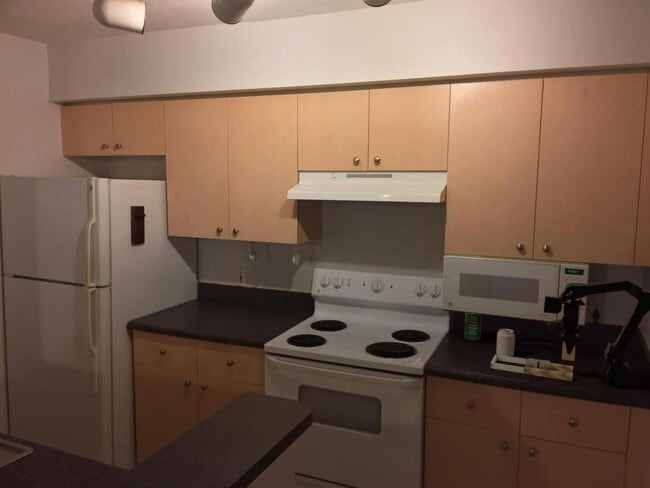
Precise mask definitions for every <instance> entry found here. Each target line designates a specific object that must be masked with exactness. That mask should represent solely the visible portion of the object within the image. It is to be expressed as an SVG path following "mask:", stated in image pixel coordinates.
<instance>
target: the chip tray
mask: <svg viewBox="0 0 650 488" xmlns="http://www.w3.org/2000/svg"><path fill="white" fill-rule="evenodd" d="M527 359H528V358H521V357H514V356H510V357H509V356H502V355H498V354H497V353H495V354H494V357H493V358H492V360H491V362H490V369H495V370H502V371H508V372H514V373H520V374H524V373H523V372H524V367H523V366H516V365H509V364H503V363H499V362H498V363H497V361H500V362H501V361H502V362H507V363H515V364H521V365H526V360H527Z"/></svg>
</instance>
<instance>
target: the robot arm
mask: <svg viewBox="0 0 650 488" xmlns="http://www.w3.org/2000/svg"><path fill="white" fill-rule="evenodd" d="M614 292H626V293H628V294H629V295H630V296H632V297H633V298H634V302H633V303H634V304H633V308H632V311H631V313H630V315H629V316H628V318H627V319H626V322H625V324H624V325H623V327H622V330H621V331H620V333H619V335H618V337H617V339H616V340H615V341H613V343H611V342H608V343H607V346H606V348H605V349H604V350H603V351H604V357H605V361H606V364H607V365H608V366H609V368H608V369H609V370H608V369H607V373H606V383H608V386H611V387H614V388H615V387H617V388H623V389H628V386H629V385H628V379H629V377H628V376H629V371H630V368H629V365H628V363H627V361H626V360H625V358H626V352H627V348H628V347H629V344H630V342H631V340H632V338H633V336H634V335H635V333H636V331H637V329H638V328H639V326H640V324H641V322H642V320H643V318H644V317H645V316H646V315H647V314H648V313H649V312H650V290H649V289H646V288H644V289H643V288H642V287H640V286H639V285H637V284H635V283H633V282H632V281H630V279H627V278H623V279H618V280H611V281H610V280H609V281H603V282H593V283H583V282H582V283H581V282H570V283H567V284H566V285H565V287H564V291H563V292H562V293H561V294H560V295H559V296H557V297H556V296H550V295H545V296H544V302H543V313H544V314H545V313H546V314H553V315H554V314H555V315H559V314H560V313H561V312H562V311H563V312H562V313H563V314H562V318H561V319H554V320H549V321H547V323H546V324H547V329H548V331H549V332H555V331H559V330H561V333H560V341H562V342H563V341H564V342H565V344H566V350H567V354H569V355H570V354H571V352H572V350H573V348H574V347H575V348H576V345H577V343H579V332H580V325H579V323H580V322H579V321H580V308H581V307H585V306H586V303H585V301H584V300H583V299H582V298H585V297H588V296H591V295H598V294H607V293H614ZM580 306H581V307H580Z"/></svg>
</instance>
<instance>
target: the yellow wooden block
mask: <svg viewBox="0 0 650 488" xmlns="http://www.w3.org/2000/svg"><path fill="white" fill-rule="evenodd" d="M561 351H562V353H561V360H563V361H572V362H575V357H576V346H575V347H574V348H573V350H572V352H571V354H570V355H569V354H567V350H566V344H565V342H564V341H562V350H561Z"/></svg>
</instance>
